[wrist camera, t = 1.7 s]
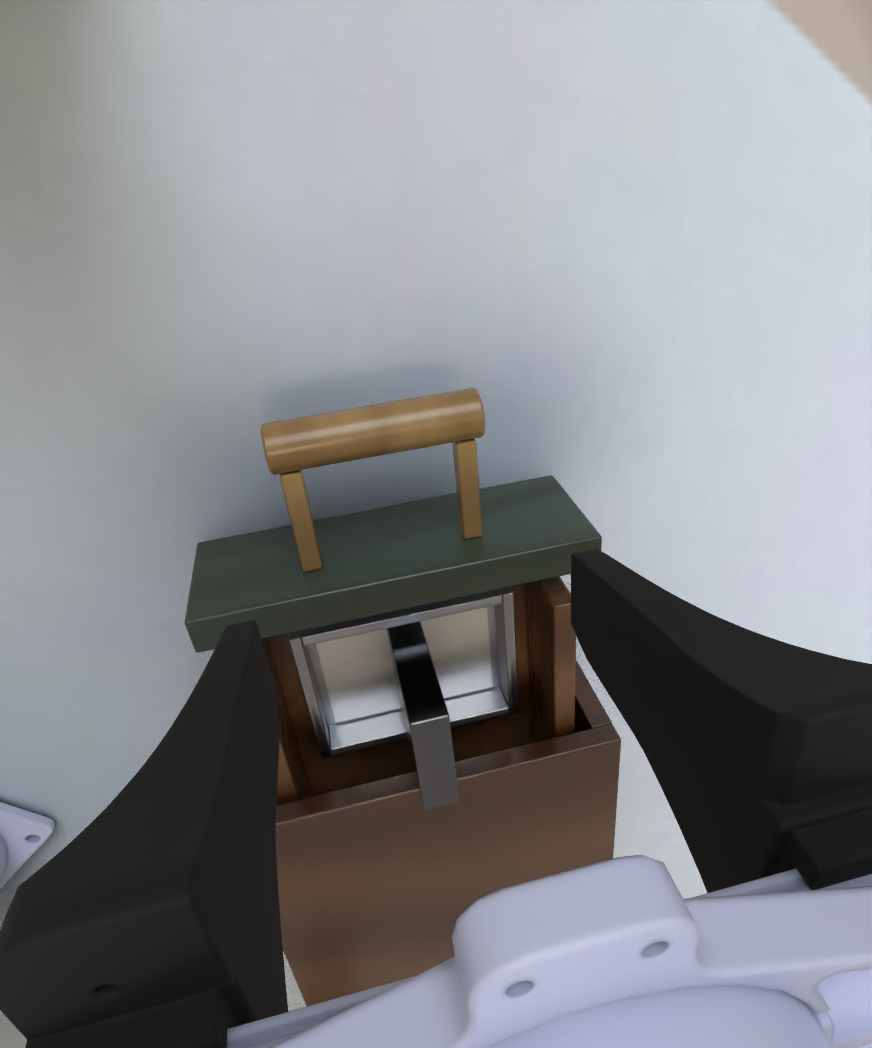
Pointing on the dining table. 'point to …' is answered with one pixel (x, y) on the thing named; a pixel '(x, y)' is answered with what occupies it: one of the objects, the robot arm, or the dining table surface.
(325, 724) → the tray
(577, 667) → the cabinet
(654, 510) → the dining table surface
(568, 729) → the drawer
